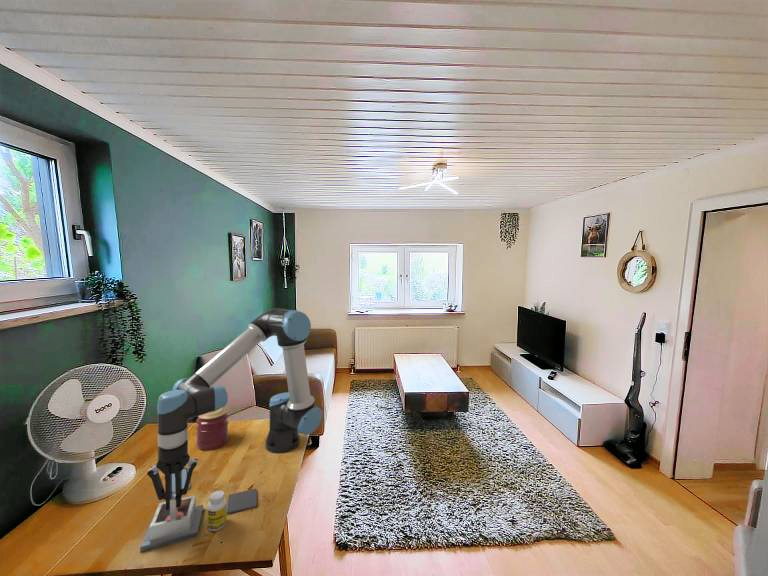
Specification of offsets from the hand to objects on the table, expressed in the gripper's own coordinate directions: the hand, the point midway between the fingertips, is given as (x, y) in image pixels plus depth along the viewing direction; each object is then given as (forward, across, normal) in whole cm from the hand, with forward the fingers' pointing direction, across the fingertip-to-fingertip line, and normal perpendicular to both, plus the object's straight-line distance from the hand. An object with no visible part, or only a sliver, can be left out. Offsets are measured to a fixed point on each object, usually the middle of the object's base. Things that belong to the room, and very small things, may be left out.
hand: (174, 517), depth 97 cm
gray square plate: (+4, -19, -5) cm, 20 cm away
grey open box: (+4, 0, 0) cm, 4 cm away
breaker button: (+2, 0, 0) cm, 2 cm away
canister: (+4, -5, -50) cm, 50 cm away
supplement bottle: (+4, -12, +3) cm, 13 cm away
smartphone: (+4, +4, -25) cm, 26 cm away
